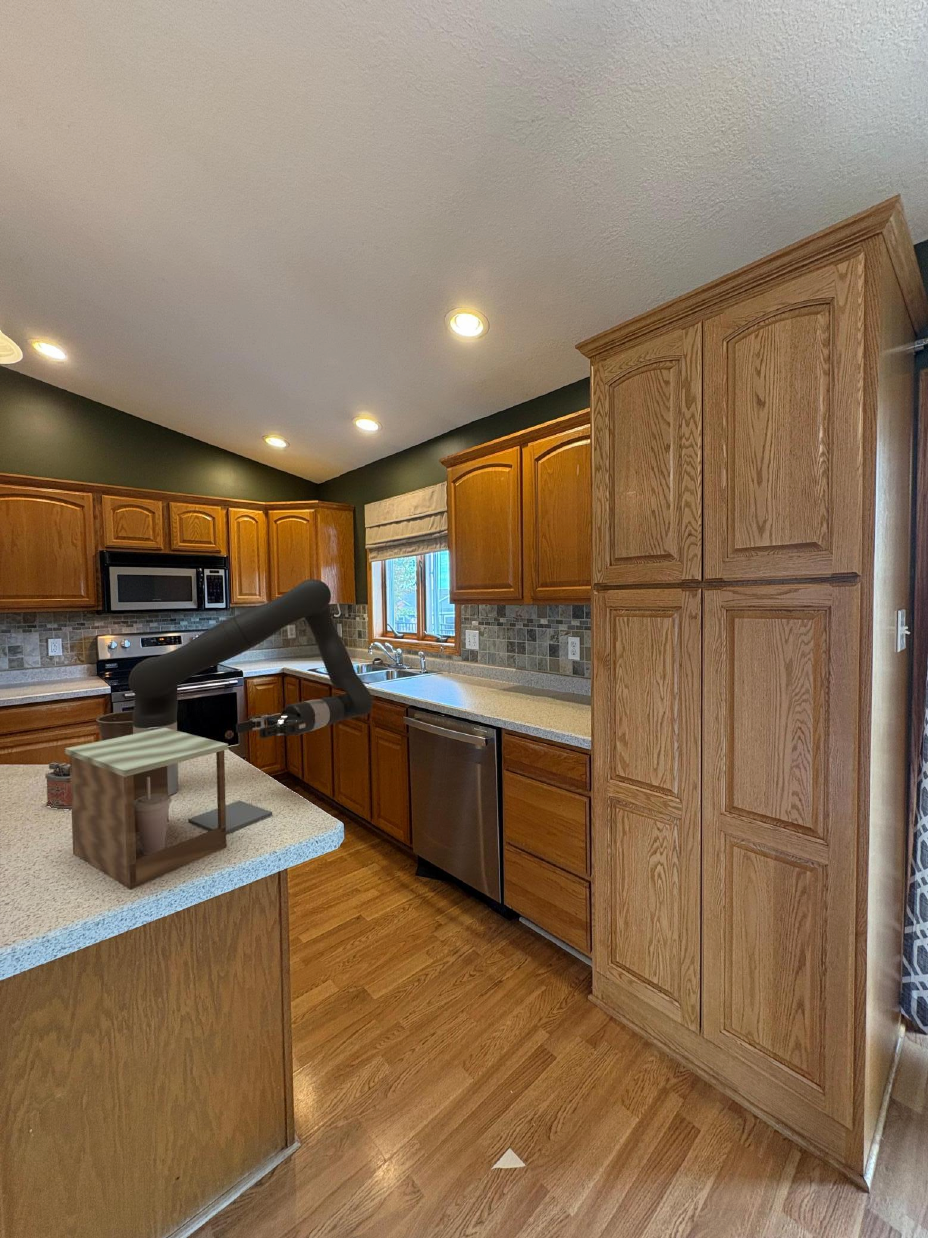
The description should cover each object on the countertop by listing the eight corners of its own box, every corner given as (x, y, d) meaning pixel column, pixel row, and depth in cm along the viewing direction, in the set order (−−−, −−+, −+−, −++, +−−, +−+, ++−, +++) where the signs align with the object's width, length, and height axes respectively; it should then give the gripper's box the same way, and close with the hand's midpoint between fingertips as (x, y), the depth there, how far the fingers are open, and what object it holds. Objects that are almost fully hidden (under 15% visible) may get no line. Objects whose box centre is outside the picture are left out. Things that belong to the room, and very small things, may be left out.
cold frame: (68, 854, 97) (65, 748, 96) (167, 819, 112) (165, 727, 111) (128, 892, 84) (124, 770, 83) (230, 847, 99) (228, 744, 98)
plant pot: (145, 761, 152) (144, 706, 151) (181, 769, 145) (180, 712, 144) (84, 778, 137) (82, 718, 136) (121, 788, 130) (119, 724, 129)
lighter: (82, 806, 119) (80, 763, 119) (66, 811, 116) (65, 767, 115) (58, 801, 122) (56, 759, 121) (42, 807, 118) (40, 764, 118)
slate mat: (188, 822, 110) (188, 819, 110) (239, 803, 120) (239, 800, 120) (221, 836, 103) (220, 833, 103) (272, 815, 113) (272, 812, 113)
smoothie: (144, 842, 101) (142, 771, 101) (178, 841, 102) (176, 770, 101) (126, 858, 95) (123, 783, 94) (162, 857, 95) (160, 782, 95)
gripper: (287, 698, 132) (228, 710, 118) (326, 704, 124) (268, 718, 111) (288, 727, 132) (229, 743, 119) (326, 735, 125) (269, 752, 111)
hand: (248, 731), depth 115 cm, fingers open, 8 cm apart
